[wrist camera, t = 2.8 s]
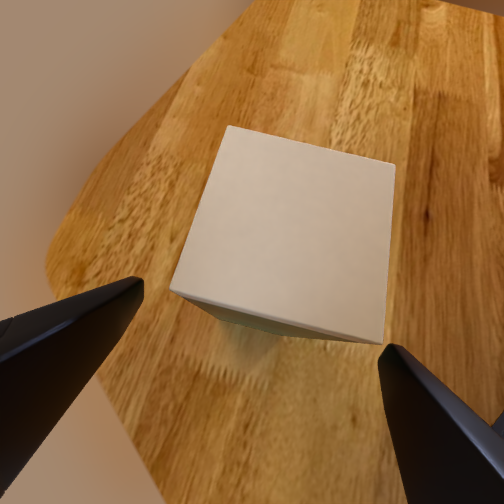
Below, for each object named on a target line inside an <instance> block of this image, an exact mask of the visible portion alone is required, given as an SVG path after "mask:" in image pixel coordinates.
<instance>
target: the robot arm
mask: <svg viewBox="0 0 504 504" xmlns="http://www.w3.org/2000/svg"><path fill="white" fill-rule="evenodd" d="M143 299H144V280H143V279H142V278H138V277H135V276H130V277H127V278H124V279H122V280H119V281H116V282H113V283H110V284H107V285H104V286H101V287H98V288H95V289H92V290H90V291H87V292H84V293H81V294H78V295H75V296H72V297H69V298H66V299H63V300H60V301H58V302H55V303H52V304H49V305H46V306H43V307H40V308H37V309H34V310H32V311H28V312H26V313H23V314H20V315H17V316H15V317H14V318H13V317H11V318H8V319H5V320H2V321H0V498H1V497H2V496H3V494H4V493H5V490H7V489H8V487H9V486H10V485H11V483H12V482H13V481H14V480H15V478H16V477H17V475H18V474H19V473H20V471H21V470H22V469H23V468H24V466H25V465H26V464H27V462H28V461H29V459H30V458H31V457H32V456H33V454H34V453H35V452H36V450H37V449H38V448H39V446H40V445H41V444H42V442H43V441H44V440H45V438H46V437H47V436H48V434H49V433H50V432H51V430H52V429H53V428H54V426H55V425H56V424H57V422H58V421H59V420H60V418H61V417H62V416H63V415H64V413H65V412H66V410H67V409H68V408H69V406H70V405H71V404H72V403H73V401H74V400H75V399H76V397H77V396H78V394H79V393H80V392H81V391H82V389H83V388H84V387H85V385H86V384H87V383H88V381H89V380H90V379H91V377H92V376H93V375H94V373H95V372H96V371H97V369H98V368H99V367H100V365H101V364H102V363H103V361H104V360H105V359H106V357H107V356H108V355H109V353H110V352H111V351H112V350H113V348H114V347H115V346H116V344H117V343H118V341H119V340H120V339H121V337H122V335H123V334H124V332H125V331H126V329H127V327H128V326H129V324H130V322H131V321H132V319H133V317H134V316H135V314H136V312H137V311H138V309H139V307H140V306H141V304H142V302H143ZM378 371H379V378H380V385H381V391H382V398H383V404H384V410H385V414H386V419H387V423H388V427H389V431H390V435H391V438H392V442H393V446H394V450H395V454H396V458H397V462H398V466H399V470H400V474H401V478H402V482H403V486H404V490H405V494H406V498H407V502H408V504H504V439H503V438H502V437H501V436H500V435H499V434H498V433H497V432H496V431H495V430H494V429H492V428H491V427H490V426H489V425H488V424H487V423H486V422H485V421H484V420H483V419H482V418H480V417H479V416H478V415H477V414H476V413H475V412H474V411H473V410H472V409H471V408H470V407H468V406H467V405H466V404H465V403H464V402H463V401H462V400H461V399H460V398H459V397H458V396H456V395H455V394H454V393H453V392H452V391H451V390H450V389H449V388H448V387H447V386H446V385H444V384H443V383H442V382H441V381H440V380H439V379H438V378H437V377H436V376H435V375H433V374H432V373H431V372H430V371H429V370H428V369H427V368H426V367H425V366H424V365H423V364H421V363H420V362H419V361H418V360H417V359H416V358H415V357H414V356H413V355H412V354H411V353H409V352H408V351H407V350H406V349H405V348H404V347H403V346H400V345H396V344H393V343H390V344H388V345H387V346H386V348H385V349H384V351H383V352H382V354H381V355H380V357H379V359H378Z"/></svg>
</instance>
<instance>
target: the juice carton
mask: <svg viewBox="0 0 504 504" xmlns="http://www.w3.org/2000/svg"><path fill="white" fill-rule="evenodd" d="M395 167H396V166H395V164H391V163H387V162H382V161H378V160H374V159H370V158H365V157H361V156H357V155H353V154H348V153H344V152H340V151H336V150H332V149H327V148H323V147H319V146H315V145H310V144H306V143H302V142H298V141H293V140H289V139H285V138H281V137H277V136H272V135H268V134H264V133H260V132H255V131H251V130H247V129H243V128H238V127H234V126H230V125H228V126H227V129H226V131H225V134H224V137H223V140H222V143H221V145H220V148H219V151H218V154H217V156H216V159H215V162H214V165H213V167H212V170H211V173H210V176H209V179H208V181H207V184H206V187H205V190H204V192H203V195H202V198H201V201H200V204H199V206H198V209H197V212H196V215H195V217H194V220H193V223H192V226H191V229H190V231H189V234H188V237H187V240H186V242H185V245H184V248H183V251H182V253H181V256H180V259H179V262H178V265H177V267H176V270H175V273H174V276H173V278H172V281H171V284H170V287H169V290H171V291H172V292H174V293H176V294H177V295H179V296H181V297H183V298H184V299H186V300H188V301H189V302H191V303H193V304H194V305H196V306H198V307H199V308H201V309H203V310H204V311H206V312H207V313H209V314H211V315H212V316H214V317H216V318H217V319H220V320H224V321H228V322H232V323H236V324H239V325H243V326H247V327H251V328H255V329H259V330H262V331H266V332H270V333H274V334H278V335H281V336H290V337H301V338H311V339H322V340H333V341H344V342H355V343H364V344H375V345H382V344H383V335H384V321H385V307H386V293H387V279H388V265H389V251H390V237H391V223H392V209H393V195H394V181H395Z"/></svg>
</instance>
